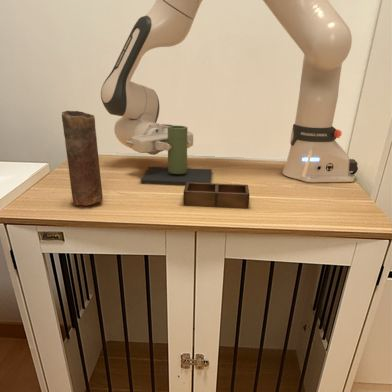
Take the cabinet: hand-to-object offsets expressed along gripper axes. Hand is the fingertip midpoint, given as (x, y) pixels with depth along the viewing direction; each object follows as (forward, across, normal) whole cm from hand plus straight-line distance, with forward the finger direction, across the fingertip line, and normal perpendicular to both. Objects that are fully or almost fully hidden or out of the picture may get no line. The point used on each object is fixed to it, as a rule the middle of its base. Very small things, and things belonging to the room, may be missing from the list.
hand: (179, 146), depth 119 cm
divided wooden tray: (+23, -7, +9) cm, 26 cm away
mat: (-1, 0, +9) cm, 9 cm away
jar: (-1, 0, +7) cm, 7 cm away
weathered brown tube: (+5, -34, +9) cm, 35 cm away
